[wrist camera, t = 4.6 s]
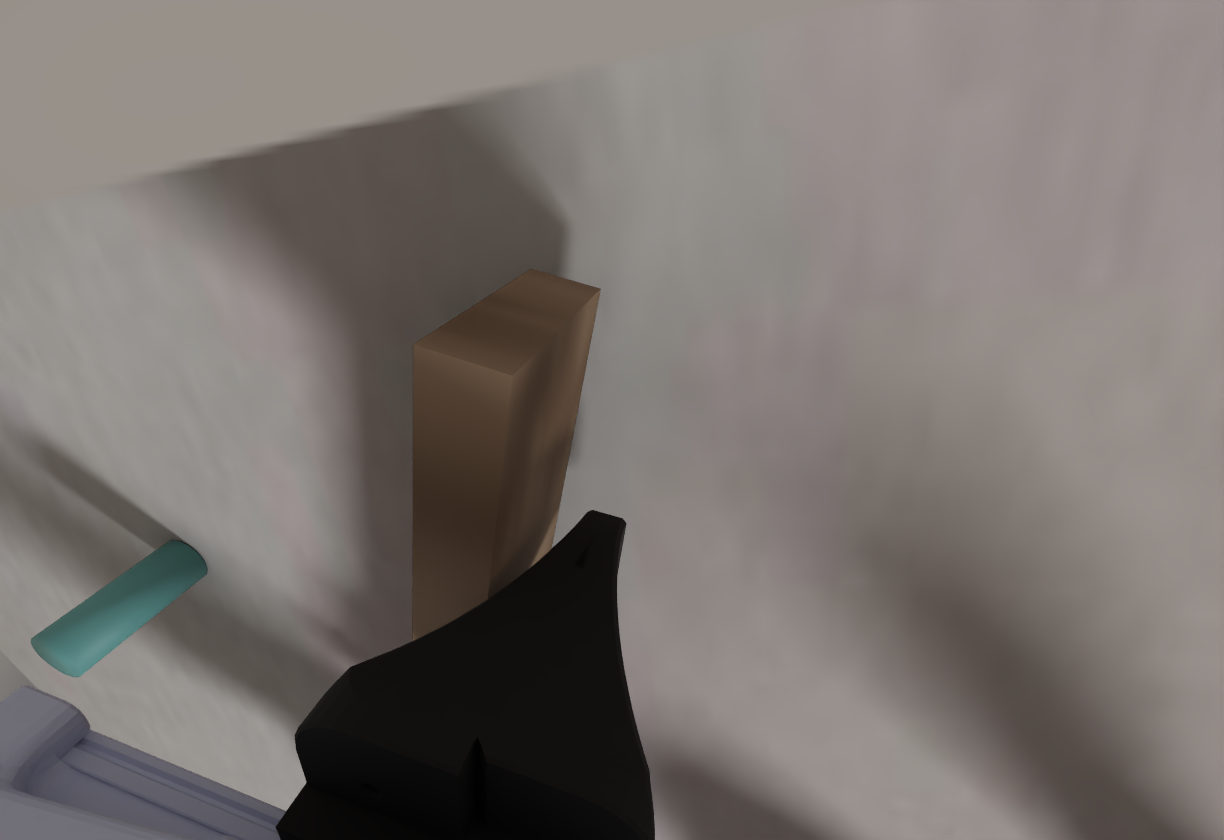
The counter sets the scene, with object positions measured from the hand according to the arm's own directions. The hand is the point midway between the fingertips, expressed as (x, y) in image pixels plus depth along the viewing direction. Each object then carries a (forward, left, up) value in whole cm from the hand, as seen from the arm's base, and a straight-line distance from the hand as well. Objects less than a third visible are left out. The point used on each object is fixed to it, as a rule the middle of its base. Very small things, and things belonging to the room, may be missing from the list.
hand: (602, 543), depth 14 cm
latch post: (-14, +14, -2) cm, 20 cm away
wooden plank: (-5, +1, -1) cm, 5 cm away
